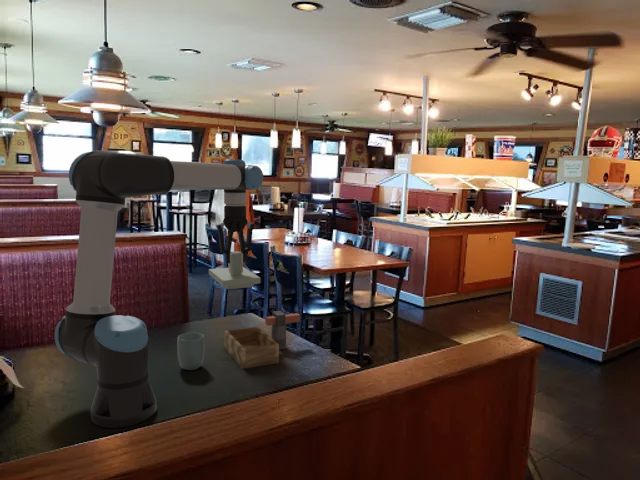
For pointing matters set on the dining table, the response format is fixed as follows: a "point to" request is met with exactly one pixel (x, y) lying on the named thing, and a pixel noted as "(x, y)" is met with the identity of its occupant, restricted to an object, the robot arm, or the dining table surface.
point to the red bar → (288, 319)
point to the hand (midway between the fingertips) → (235, 271)
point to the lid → (235, 274)
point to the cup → (190, 350)
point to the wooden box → (257, 343)
